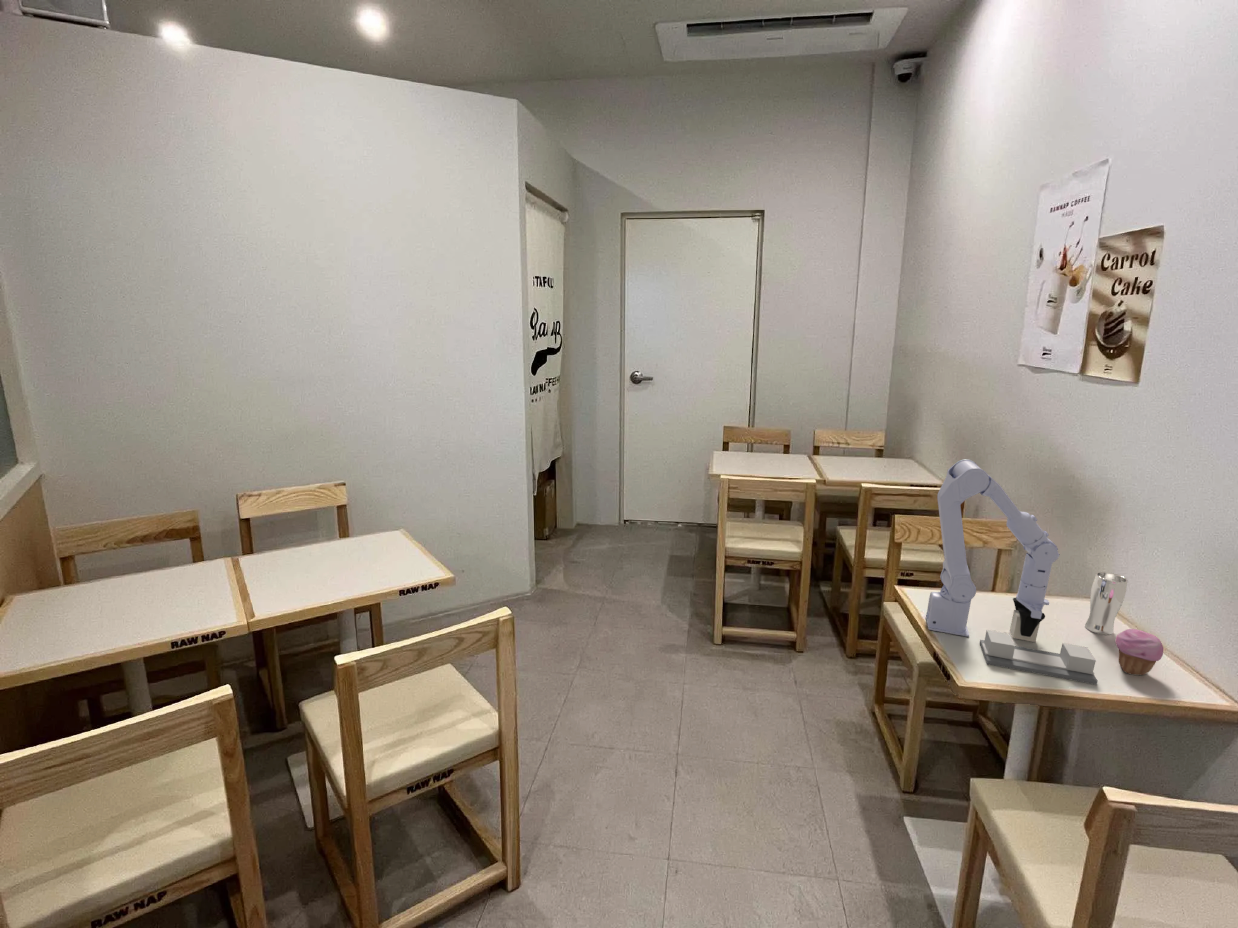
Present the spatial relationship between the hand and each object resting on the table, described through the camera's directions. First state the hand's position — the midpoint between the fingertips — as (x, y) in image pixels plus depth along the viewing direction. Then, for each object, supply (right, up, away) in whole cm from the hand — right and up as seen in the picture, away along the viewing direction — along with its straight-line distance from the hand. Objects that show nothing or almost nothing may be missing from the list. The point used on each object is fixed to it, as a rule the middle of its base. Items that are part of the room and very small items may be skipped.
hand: (1023, 631), depth 165 cm
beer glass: (+23, -1, +5) cm, 23 cm away
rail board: (-4, -4, -11) cm, 13 cm away
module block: (0, -1, 0) cm, 1 cm away
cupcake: (+17, -6, -14) cm, 23 cm away
